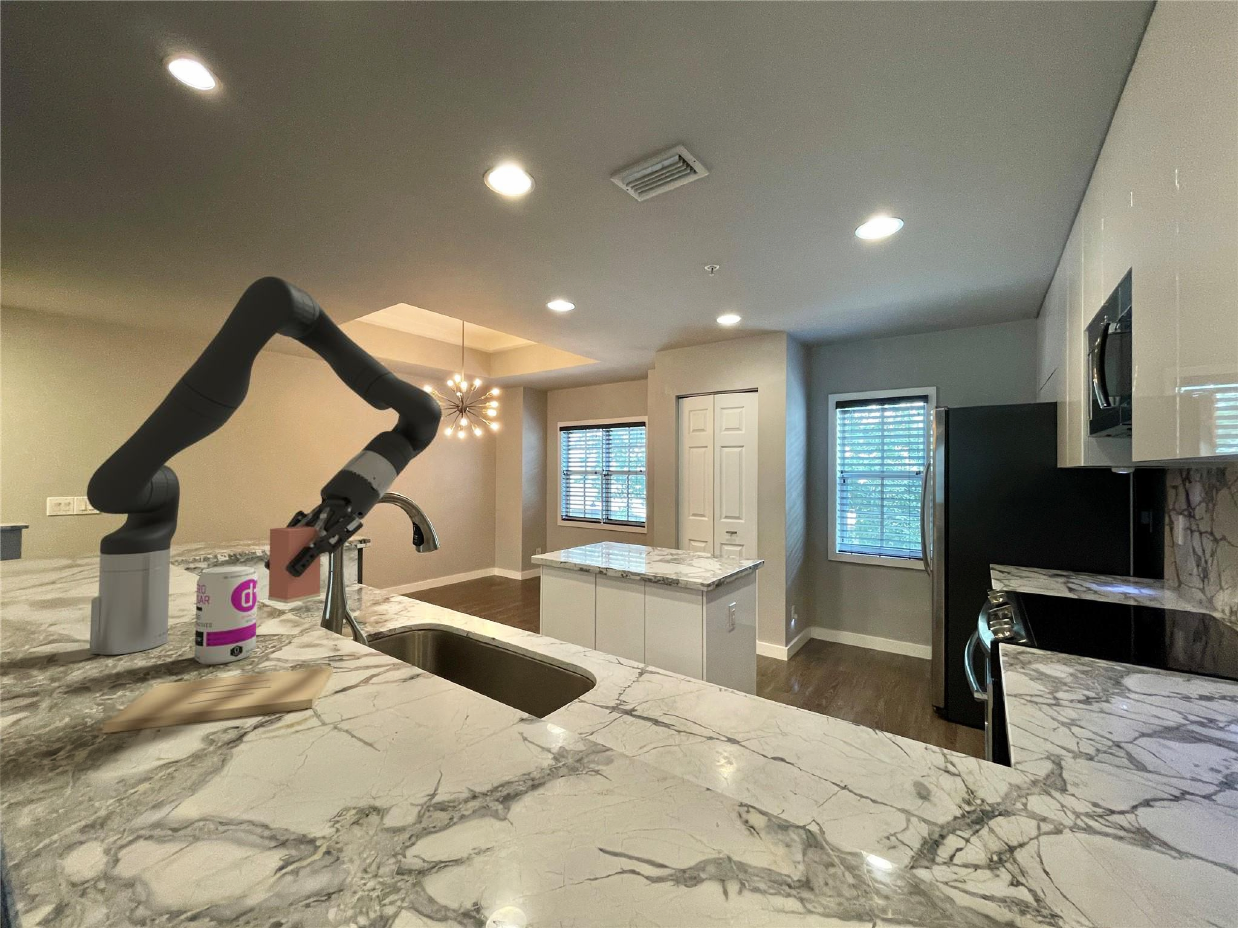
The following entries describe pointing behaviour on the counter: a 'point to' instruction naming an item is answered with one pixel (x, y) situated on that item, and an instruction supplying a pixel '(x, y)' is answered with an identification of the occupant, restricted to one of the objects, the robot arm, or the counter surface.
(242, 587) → the supplement can
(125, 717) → the oak board
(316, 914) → the counter surface
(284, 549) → the block
